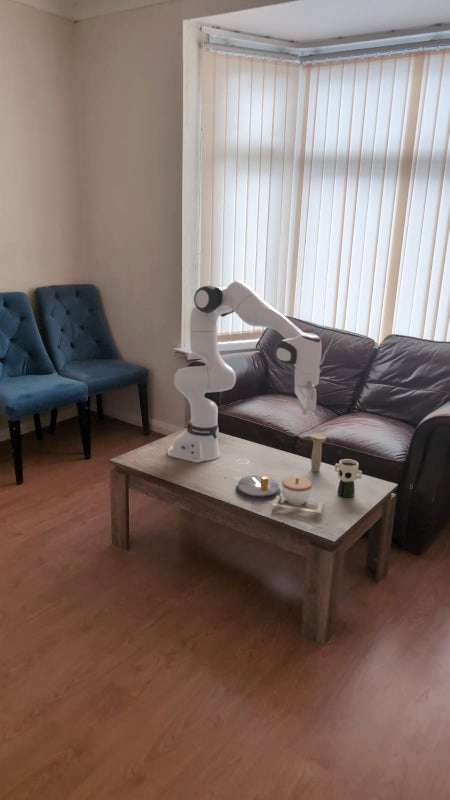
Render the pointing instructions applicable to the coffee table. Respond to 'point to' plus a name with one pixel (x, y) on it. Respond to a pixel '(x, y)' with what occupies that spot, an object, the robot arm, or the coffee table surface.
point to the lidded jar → (296, 489)
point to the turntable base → (257, 498)
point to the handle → (316, 451)
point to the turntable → (258, 486)
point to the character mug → (347, 476)
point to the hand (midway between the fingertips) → (303, 413)
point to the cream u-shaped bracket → (297, 510)
